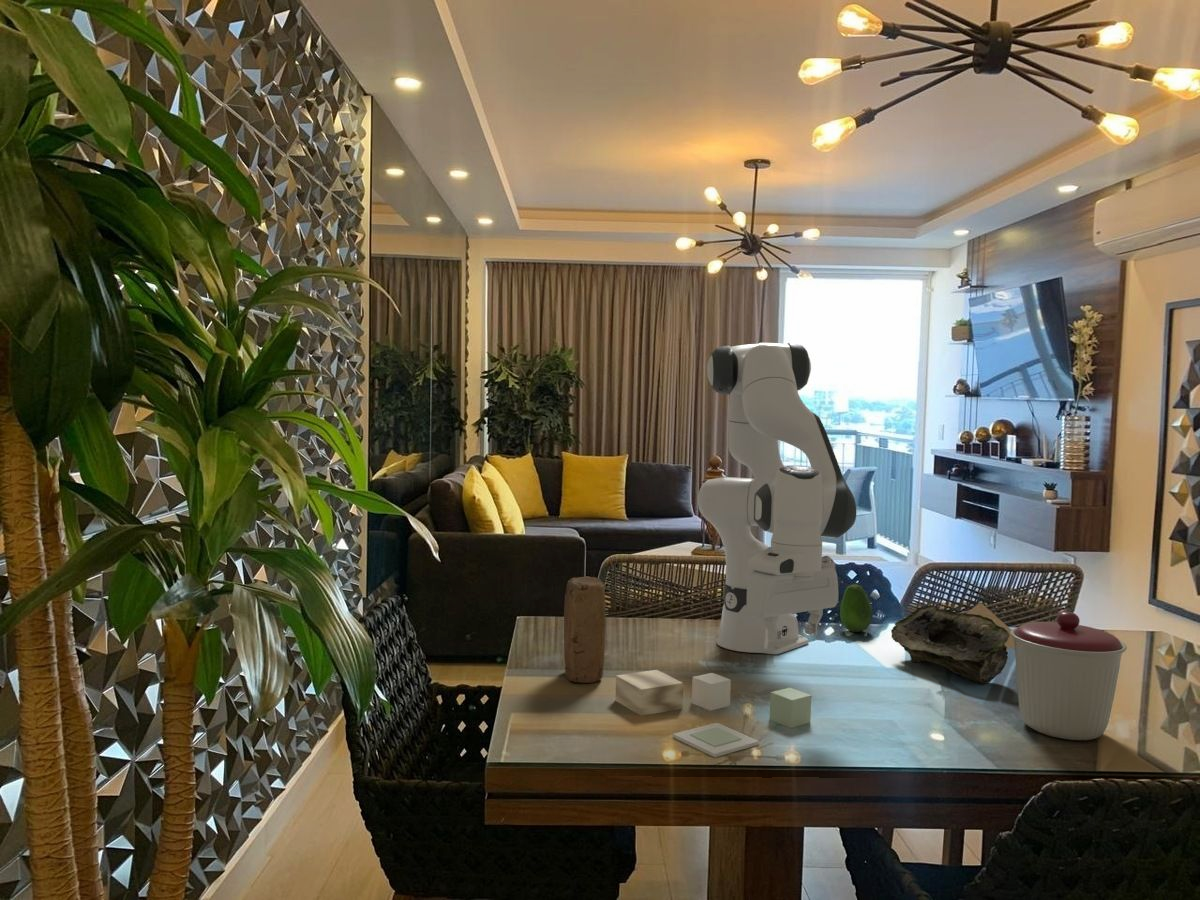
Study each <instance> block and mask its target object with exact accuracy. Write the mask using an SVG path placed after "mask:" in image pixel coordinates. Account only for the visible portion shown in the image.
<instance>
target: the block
mask: <svg viewBox="0 0 1200 900" xmlns="http://www.w3.org/2000/svg"><path fill="white" fill-rule="evenodd" d="M605 595H606V593H605V584H604V583H603V582H602V580H601V579H600V578H597V577H595V576H579V577H572V578H570V579H569V580H568V581H567V584H566V589H565V595H564V607H563V609H564V610H563V611H564V612H563V652H564V653H563V655H564V665H565V667H564V673H565V677H566V678H567V679H568V681H570V682H574V683H581V684H589V683H590V684H591V683H595V682H598V681H601V680H602V678H603V677H604V669H605V668H604V666H605V653H606V652H605V651H606V647H605V646H606V645H605V644H606V596H605Z"/></svg>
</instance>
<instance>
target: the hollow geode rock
mask: <svg viewBox="0 0 1200 900" xmlns="http://www.w3.org/2000/svg"><path fill="white" fill-rule="evenodd" d="M966 613H967V612H963V613H960V612H959V613H958V612H954V611H952V610H949V609H945V608H944V609H943V608H941V609H940V608H939V607H938V606H937V605H933V604H932V605H923V606H921V607H917V609H916V610H915V611H913V612H912V613H910V614H909V615H908V616H907V617H905V618H903V619H900V620H898V621H897V622H895V623H894V626H893V627H892V629H891V630H890V633H891V639H892V640H893V641H894V642H895V643H898V644H899V646H901V647H903V649H904V651H905V652H907V653H908V654H909V656H910V662H912V663H920V662H930V663H934V664H937V665H939V666H944V667H945V668H947V669H948V670H949V671H950V672H952V673H954V674H957V675H960V676H963V678H968V679H969V680H971V681H973V682H977V683H978V684H982V685H984V686H986V685H988V684H990V682H992V680H994V679H995V678H997V676H999V675H1000V674H1001V673H1002V671H1003V670H1004V669H1005V666H1006V665H1007V661H1008V658H1009V656H1008V655H1009V652H1008V650H1007V647H1006V646H1005V642H1007V640H1008V638H1009V636H1010V635H1009V633H1008V631H1007V630H1005V628H1003V627H999V626H997V625H996V624H995V623H994V622H993V620H992V619H989V618H987V617H983V616H981V615H974V614H966Z"/></svg>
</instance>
